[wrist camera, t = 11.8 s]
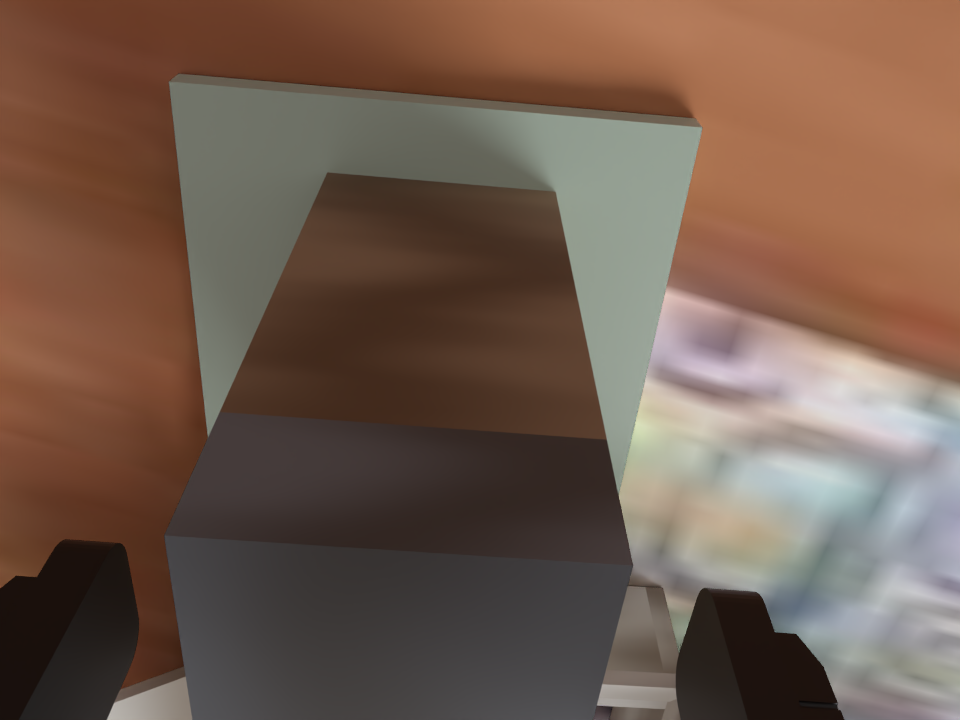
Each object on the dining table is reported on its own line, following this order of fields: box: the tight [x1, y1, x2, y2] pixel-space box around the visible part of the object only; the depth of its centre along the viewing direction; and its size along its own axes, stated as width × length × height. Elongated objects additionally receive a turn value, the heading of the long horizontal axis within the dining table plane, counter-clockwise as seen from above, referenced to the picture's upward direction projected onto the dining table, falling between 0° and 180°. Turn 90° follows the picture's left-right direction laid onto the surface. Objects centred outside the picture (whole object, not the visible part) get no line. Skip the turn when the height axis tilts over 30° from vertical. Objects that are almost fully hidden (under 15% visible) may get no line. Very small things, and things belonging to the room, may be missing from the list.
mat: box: [169, 74, 702, 496], centre depth 19 cm, size 10×10×1 cm
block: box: [164, 172, 633, 720], centre depth 14 cm, size 4×7×10 cm, turn 175°
